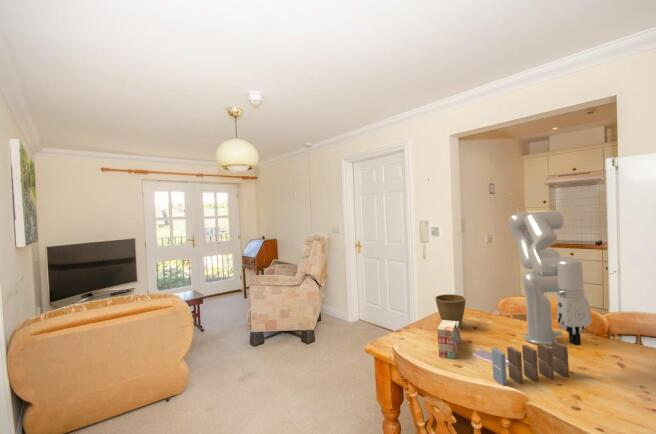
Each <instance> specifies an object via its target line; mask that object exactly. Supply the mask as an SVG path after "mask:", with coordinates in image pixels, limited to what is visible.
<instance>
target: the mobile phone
mask: <svg viewBox="0 0 656 434" xmlns="http://www.w3.org/2000/svg"><path fill="white" fill-rule="evenodd" d="M471 355H472V356H474V357H476V358H479V359H481V360H485V361H486V362H490V363H492V364H493V362H492V351H488V350H485V349H479V350H476V351H474V352H472V353H471ZM505 361H506V368H507V367H508V357H506V356H505Z"/></svg>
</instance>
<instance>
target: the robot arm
mask: <svg viewBox="0 0 656 434" xmlns="http://www.w3.org/2000/svg"><path fill="white" fill-rule="evenodd" d="M564 223H565V219H564V217H563V214H562V213H561V212H559V211H556V210H544V211H543V210H541V211H531V212H529V211H526V212H525V211H524V212H517V213H513V214H511V215H510V216H509V217H508V228H509V231H510V234H511V237H513V239H514V241H515V243H516V246H517V247H516V248H517V251H518V255H519V258H520V262H521V264H522V267H523V268H524V269H527V270H533V271H527V272H525V273H524V274H523V275H522V278H521V282H522V286H523V290H524V297H525V307H526V309H525V310H526V323H527V324H526V325H527V327H526V328H527V333H525V334H524V340H525V341H527V342H529V343H531V344H534V345H537V343H542V344H544V345H546V346H548V347H550V346H552V342H553V341H556V342H558V339H557V336H563V332H562V331H561V329H562V330H564V331H566V333H568V341H569V342H568V343H569V344H572V345H573V346H576V347H578V346H581V345H582V341H581V334H583V330H584V329H585V328H587V327H589V326H590V325H591V324H592V314H591V308H590V304H589V301H588V298H587V297H586V296H585V286H584V273H583V271H584V270H583V263H582V262H581V261H580V260H578V259H574V258H572V257H569V256H561V254H560V253H559V251H558V250H556V249H554V248H549V247H552V246H553V245H554V244H555V243H556V242H557V241H558V236H557V234H556V232H555V231H556V230H561V229H562V228H563V227H564ZM545 293H546V294H547V293H556V294H557V296H558V297H557V300H556V301H557V302H556V319H557V321H556V322H557V323H558V324H559V327H558V328H559V329H560V330H556V331H555V330H554V329H553V321H552V320H553V317H552V304H551V301H550V299H549V298H548V297H547V296H546V295H545Z"/></svg>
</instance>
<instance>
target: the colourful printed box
mask: <svg viewBox="0 0 656 434" xmlns="http://www.w3.org/2000/svg"><path fill="white" fill-rule="evenodd" d="M436 329H437V344H438V358H444V359H451V360H455V359H456V357H457V356H456V355H457V353H458V349H459V346H460V344H461V341H462V339H461V326H460V327H459V321H449V320H441V322H440V324H439V325H438V327H437V328H436Z"/></svg>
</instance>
